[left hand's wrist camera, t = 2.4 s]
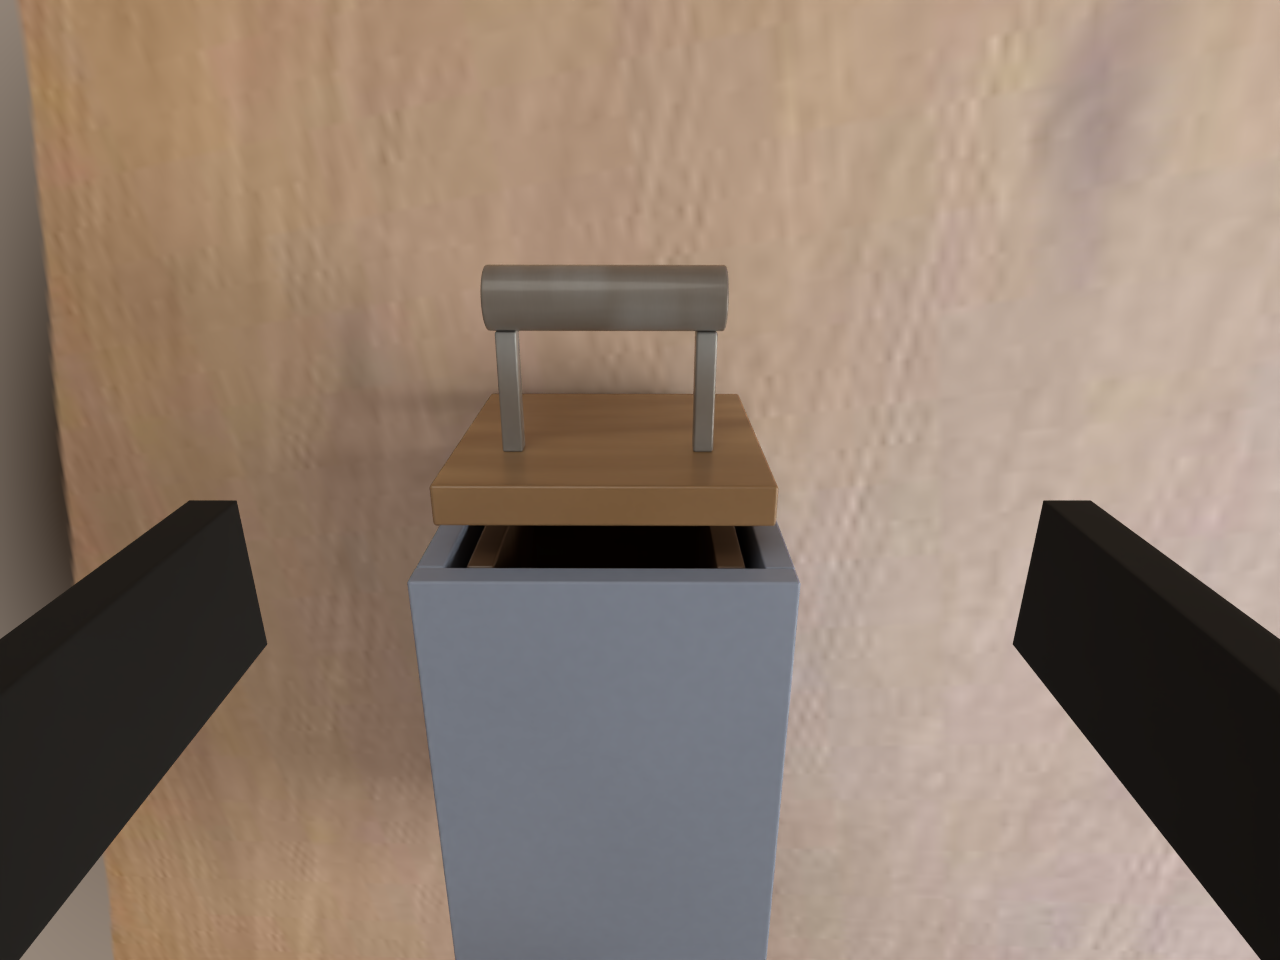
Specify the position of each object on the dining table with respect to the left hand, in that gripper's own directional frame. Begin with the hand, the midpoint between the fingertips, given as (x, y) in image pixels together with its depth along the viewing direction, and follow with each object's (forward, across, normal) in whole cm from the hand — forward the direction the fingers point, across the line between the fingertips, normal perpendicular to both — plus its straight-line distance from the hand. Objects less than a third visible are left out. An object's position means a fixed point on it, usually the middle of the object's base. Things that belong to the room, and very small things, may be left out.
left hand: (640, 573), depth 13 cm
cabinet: (+18, -1, -13) cm, 22 cm away
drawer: (+17, -1, -7) cm, 19 cm away
